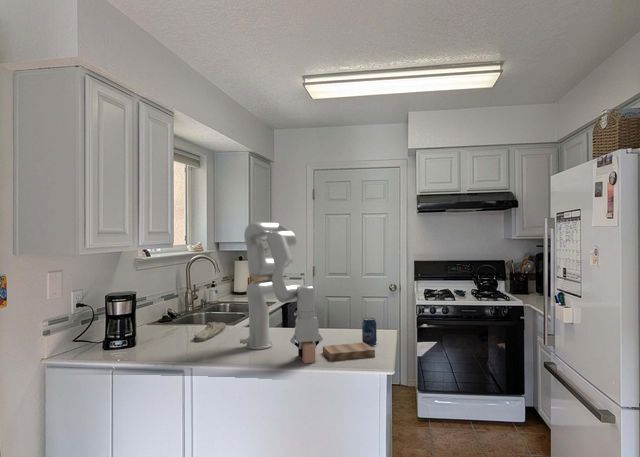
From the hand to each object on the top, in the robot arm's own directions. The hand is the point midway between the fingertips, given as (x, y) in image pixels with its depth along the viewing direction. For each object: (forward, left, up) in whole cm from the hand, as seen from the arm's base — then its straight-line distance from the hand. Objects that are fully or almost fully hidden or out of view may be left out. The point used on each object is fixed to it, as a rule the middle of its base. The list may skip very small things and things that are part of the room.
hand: (306, 356), depth 188 cm
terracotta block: (0, 0, -1) cm, 1 cm away
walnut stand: (+19, 0, -1) cm, 19 cm away
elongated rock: (-39, +62, -2) cm, 73 cm away
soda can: (+35, +15, -1) cm, 38 cm away
